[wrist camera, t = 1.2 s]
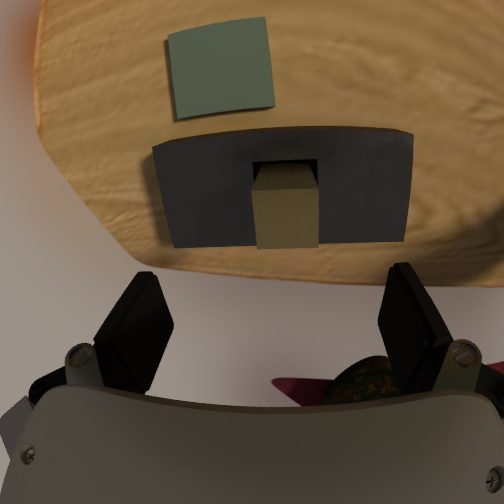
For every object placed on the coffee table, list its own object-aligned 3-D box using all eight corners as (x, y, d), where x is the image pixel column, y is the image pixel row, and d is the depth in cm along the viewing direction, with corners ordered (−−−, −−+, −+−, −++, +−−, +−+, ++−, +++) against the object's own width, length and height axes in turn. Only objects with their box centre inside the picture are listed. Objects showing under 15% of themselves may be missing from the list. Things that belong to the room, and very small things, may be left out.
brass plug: (306, 157, 24) (318, 188, 16) (307, 197, 26) (318, 247, 17) (263, 159, 25) (251, 191, 16) (267, 198, 27) (257, 249, 18)
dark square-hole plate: (396, 129, 21) (413, 134, 18) (390, 223, 26) (403, 241, 23) (169, 140, 24) (151, 147, 21) (187, 230, 29) (174, 248, 26)
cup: (420, 370, 38) (433, 416, 30) (324, 406, 46) (324, 450, 38) (407, 332, 34) (425, 388, 25) (292, 377, 42) (289, 431, 33)
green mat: (265, 19, 17) (264, 16, 17) (275, 106, 22) (274, 106, 21) (171, 36, 19) (167, 34, 18) (180, 118, 23) (177, 118, 23)
